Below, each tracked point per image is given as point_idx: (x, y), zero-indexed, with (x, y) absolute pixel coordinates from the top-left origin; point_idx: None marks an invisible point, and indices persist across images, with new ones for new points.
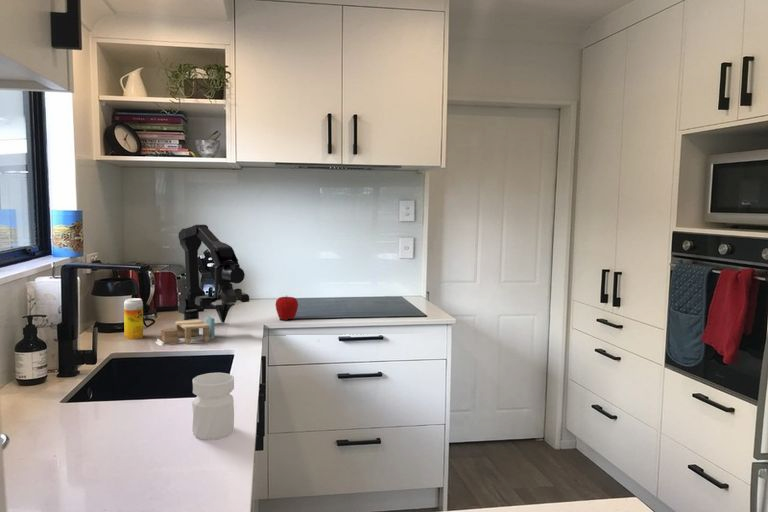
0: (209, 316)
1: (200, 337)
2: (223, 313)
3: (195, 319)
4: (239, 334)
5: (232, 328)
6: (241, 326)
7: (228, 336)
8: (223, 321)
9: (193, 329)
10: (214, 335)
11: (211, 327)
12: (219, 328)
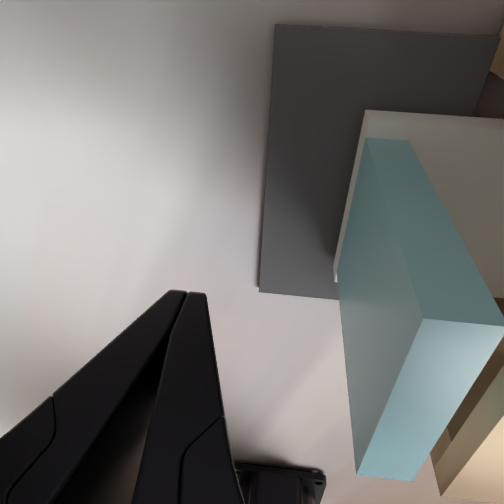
0: (360, 469)
1: (469, 239)
2: (130, 438)
3: (483, 492)
4: (43, 230)
5: (67, 380)
6: (2, 386)
7: (152, 225)
8: (183, 296)
9: (491, 372)
10: (369, 149)
11: (444, 213)
12: None
